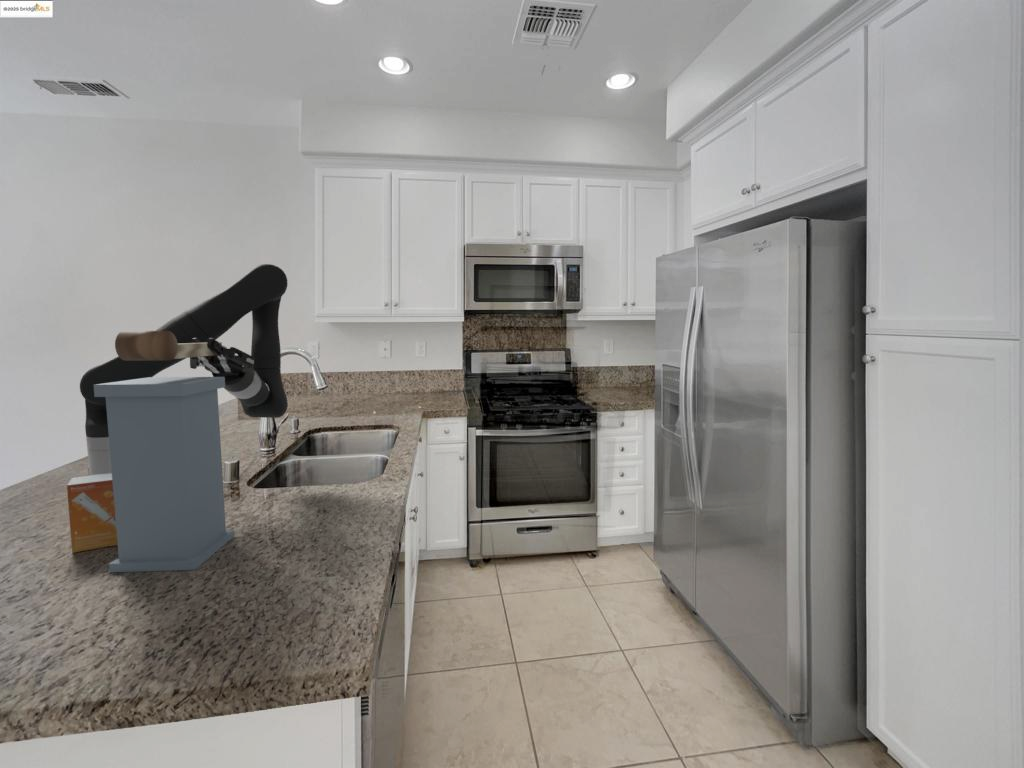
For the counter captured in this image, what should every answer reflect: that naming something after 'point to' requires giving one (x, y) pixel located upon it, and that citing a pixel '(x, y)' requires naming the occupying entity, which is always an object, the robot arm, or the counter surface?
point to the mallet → (156, 346)
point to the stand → (165, 471)
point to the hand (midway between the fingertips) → (201, 342)
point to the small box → (91, 512)
